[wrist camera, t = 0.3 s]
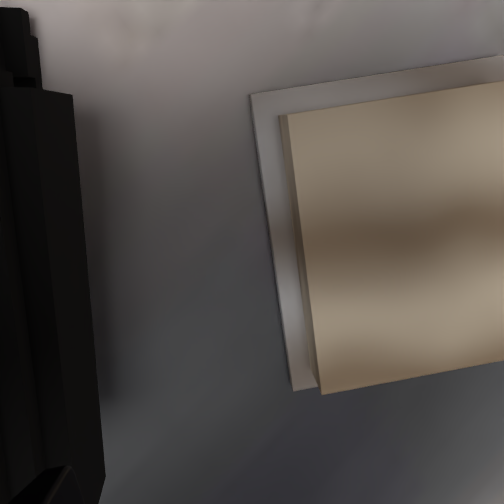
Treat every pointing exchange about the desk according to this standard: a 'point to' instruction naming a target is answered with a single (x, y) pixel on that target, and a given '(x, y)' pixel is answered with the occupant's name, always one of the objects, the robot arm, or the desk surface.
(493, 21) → the desk surface
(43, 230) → the security camera
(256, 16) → the desk surface
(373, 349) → the stand
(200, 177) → the desk surface
